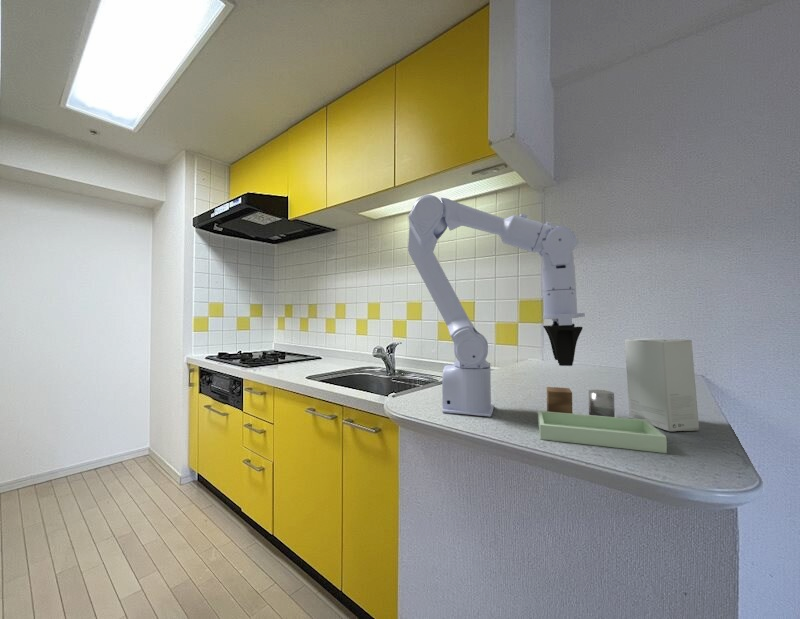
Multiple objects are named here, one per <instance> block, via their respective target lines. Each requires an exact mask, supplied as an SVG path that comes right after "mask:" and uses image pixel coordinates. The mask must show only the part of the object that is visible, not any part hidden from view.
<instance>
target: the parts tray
mask: <svg viewBox="0 0 800 619" xmlns="http://www.w3.org/2000/svg"><path fill="white" fill-rule="evenodd" d="M537 426H538V431H539V432H538V433H539V437H540V440H544V441H554V442H562V443H563V442H564V443H573V444H582V445H588V446H589V445H590V446H599V447H601V446H602V447H608V448H616V449H617V448H618V449H625V450H626V449H627V450H634V451H635V450H636V451H643V452H654V453H662V454H667V453H668V452H667V449H668V448H667V447H668V446H667V444H668V443H667V436H666V435H665V434H664V433H662V432H661V431H660V430H659V429H657V427H655V426H653V425H651V424H650V423H649V422H648V421H647V420H642V419H631V418H630V417H629V418H627V417H617V416H615V417H607V416H595V415H589V414H583V413H582V414H581V413H573V414H571V413H559V412H547V410H537Z"/></svg>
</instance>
